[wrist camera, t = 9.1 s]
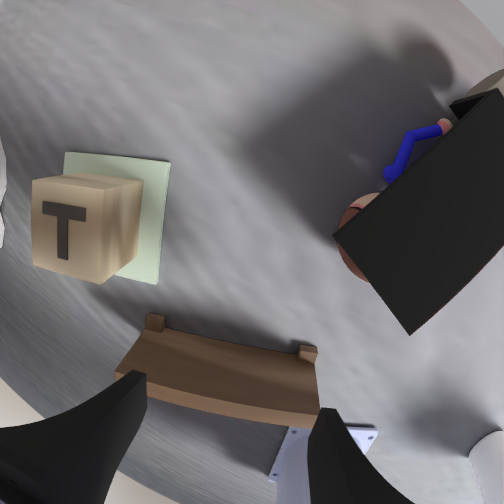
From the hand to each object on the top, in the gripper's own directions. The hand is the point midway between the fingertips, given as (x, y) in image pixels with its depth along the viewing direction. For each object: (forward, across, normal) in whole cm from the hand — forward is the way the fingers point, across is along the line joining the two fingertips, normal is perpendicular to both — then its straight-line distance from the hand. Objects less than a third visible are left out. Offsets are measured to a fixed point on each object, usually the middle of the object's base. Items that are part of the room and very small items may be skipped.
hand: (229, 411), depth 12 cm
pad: (+10, +10, -4) cm, 15 cm away
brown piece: (+10, +1, +4) cm, 10 cm away
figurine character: (+10, -10, -11) cm, 18 cm away
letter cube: (+9, +10, -5) cm, 15 cm away
